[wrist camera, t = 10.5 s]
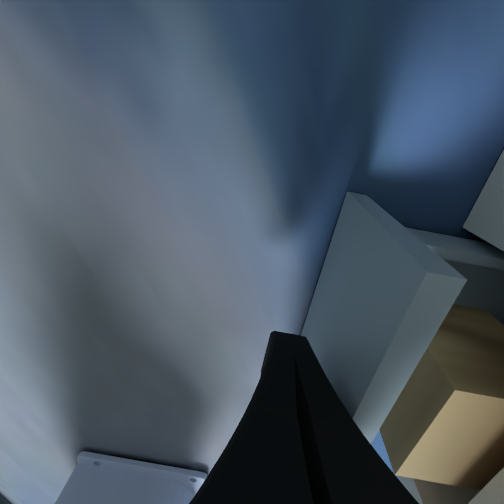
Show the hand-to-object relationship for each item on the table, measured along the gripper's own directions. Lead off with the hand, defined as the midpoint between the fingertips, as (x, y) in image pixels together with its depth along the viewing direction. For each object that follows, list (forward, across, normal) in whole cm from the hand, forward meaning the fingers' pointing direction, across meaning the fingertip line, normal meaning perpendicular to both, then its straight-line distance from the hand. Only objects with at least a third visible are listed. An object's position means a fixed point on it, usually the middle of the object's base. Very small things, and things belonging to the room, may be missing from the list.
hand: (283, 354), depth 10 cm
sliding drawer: (+4, -8, 0) cm, 8 cm away
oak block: (+3, -7, +1) cm, 7 cm away
